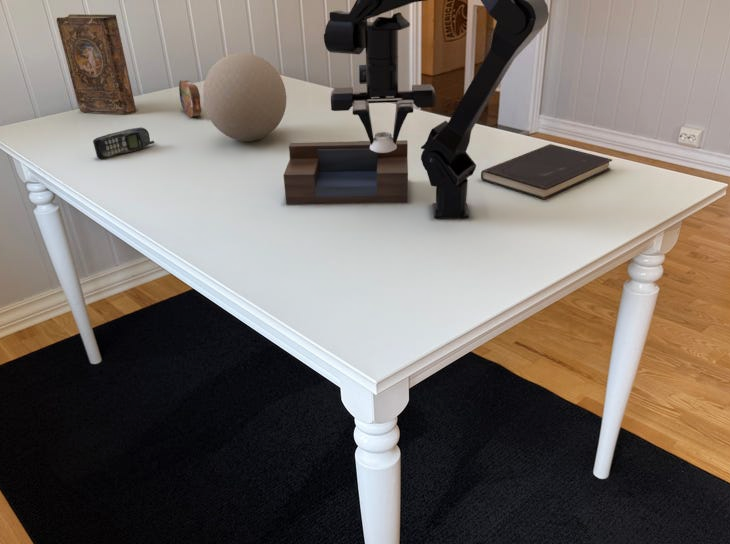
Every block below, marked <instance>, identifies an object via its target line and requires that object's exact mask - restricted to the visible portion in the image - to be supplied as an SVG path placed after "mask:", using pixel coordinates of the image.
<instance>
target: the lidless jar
mask: <svg viewBox="0 0 730 544" xmlns="http://www.w3.org/2000/svg"><path fill="white" fill-rule="evenodd" d="M396 148H397V145H396V144H395V143H394V142H393V134H392V133H390V132H388V131H381V132H377V133H375V134H374V137H373V143H372V145H370V149H371V150H372V151H374V152H377V153H388V152H391V151H393V150H395V149H396Z"/></svg>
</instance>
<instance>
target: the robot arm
mask: <svg viewBox="0 0 730 544" xmlns="http://www.w3.org/2000/svg"><path fill="white" fill-rule="evenodd" d="M426 1H427V0H355V2H354V4H353V6H352V8H351V10H350V11H349V12H348V11H347V12H346V11H342V10H333V11H330V12H329V20H327V23H326V25H325V30H324V33H323V42H324V46H325V48H326V50H327V51H328V52H329V53H332V54H334V53H335V54H346V55H347V54H348V55H361V54H362V53H363V52H364V50H365V64H359V65H358V82H359V84H360V85H366V91H364V92H363V91H362V92H354V87H353V86H352V87H351V86H350V87H349V86H348V87H334V88H333V89H332V90H331V93H330V110H331V111H333V112H345V111H350V109H351V108H352V115H353V116H358V117H359V120H360V121H361V124H362V125H363V127H364V130H365V132H366V135H367V137H368V141H370V143H371V145H372V143H373V138H374V131H373V126H372V125H373V124H372V118H371V113H370V112H371V111H370V104H381V103H383V104H386V103H387V104H388V103H389V104H390V103H395V115H394V124H393V132H392V137H393V142H394V143H395V144H396V141H398V138H399V135H400V132H401V130H402V126H403V124H404V122H405V120H406V119H407V116H408V114H412V113H414V106H415V107H417V108H418V109H421V108H422V109H425V108H434V107H436V91H435V87H434V86H432V85H433V84H430V83H429V84H412V85H411V90H399V31H403V30H404V29H407V28H410V26H411V23H410V22H409V21H408V20H407V19H406V18H405V17H404V15H402V12H396V13H394V14H393V15H392V16H380V15H382V14H384V13H389V12H391V11H395V10H397V9H400V8H404V7H405V6H408V5H411V4H413V3H419V2H426ZM480 2H481V3H482V5H483V6H484V8H485V10H486V12H487V13H488V15H490V16H491V18H493V19H494V21H496V23H495V25H494V28H493V31H492V36H491V40H490V47H489V49H488V51H487V53H486V56H485V57H484V59H483V61H482V62H481V64H480V66H479V68H478V69H477V71H476V73H475V74H474V76H473V78H472V80H471V82H470V84H469V85H468V86H467V88H466V90H465V92H464V94H463V96H462V97H461V100H460V101H459V103H458V104H457V106H456V108H455V109H454V112H453V113H452V115H451V117H450V119H449V121H448V120H444V121H443V122H441V123H439V124H437V125H436V126H435V127H432V129H431V130H430V132H429V133H428V137H427V140H426V142H425V143H424V144H423V145H421V146H420V149H421V150H422V152H421V155H420V161H421V164H422V166H423V169H424V171H426V173H427V178H428V181H429V183H430V186H431V187H435V202H433V203H432V214H433V218H434V219H469V218H470V212H469V211H470V210H469V207H468V206H469V205H468V203H467V200H468V182H469V179H468V178H469V177H471V176H473V175H474V172H475V170H476V169H477V164H476V163H475V161H474V160H473V159H472V157H470V155H469V153H467V150H468V147H469V145H470V141H471V135H472V130H473V129H474V128H475V125H476V124H477V122H478V120H479V118H480V117H481V116H482V114H483V112H484V110H485V109H486V107H487V105H488V104H489V102H490V100H491V99H492V97H493V95H494V94H495V92H496V90H497V89H498V87H499V86H500V84H501V82H502V81H503V79H504V77H505V75H506V74H507V72H508V70H509V69H510V67H511V65H512V64H513V62H514V60H515V59H516V58H517V57H518V56H519V55H520V54H521V53H522V52H523V51H524V49H526V48H527V47H528V46H529V45H530V44H531V43H532V41H533V40H534V39H535V38H536V37H537V36H538V35H539V33H540V32H541V31H542V29H544V28H545V26H546V24H547V23H548V20H549V16H550V12H549V7H548V4H547V2H546V0H480ZM374 17H375V19H374V21H368V19H372V18H374Z"/></svg>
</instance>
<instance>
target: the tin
mask: <svg viewBox="0 0 730 544" xmlns="http://www.w3.org/2000/svg"><path fill="white" fill-rule="evenodd" d="M178 84H179V85H178V91H179V92H178V93H179V99H180V103H181V104H180V105H181V108H182V110H183V112H184V113H185V114H187V116H188V117H190V118H195V117H200V116H201V115H202V107H201V95H200V94H201V93H200V91H199V87H197V85H196V84H194V83H193V82H192V81H191V80H180V81H179V83H178Z"/></svg>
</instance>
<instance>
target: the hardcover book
mask: <svg viewBox="0 0 730 544" xmlns="http://www.w3.org/2000/svg"><path fill="white" fill-rule="evenodd" d="M612 161H613V159H612V158H608V157H604V156H600V155H596V154H592V153H588V152H584V151H580V150H575V149H572V148H569V147H568V148H567V147H565V146H564V147H563V146H560V145H555V144H552V143H549V144H546V145H544V146H541V147H539V148H536V149H534V150H531V151H528V152H526V153H523V154H521V155H518V156H516V157H513V158H510V159H507V160H505V161H503V162H500V163H498V164H495V165H492V166H490V167H487V168H485V169H483V170H481V172H480V179H481V180H482V182H485V183H488V184H492V185H494V186H499V187H502V188H504V189H508V190H511V191H515V192H518V193H521V194H524V195H527V196H531V197H533V198H537V199H540V200H543V201H545V200H548V199H550V198H551V197H554V196H557V195H559V194H561V193H563V192H565V191H567V190H569V189H572V188H573V187H576V186H578V185H580V184H583V183H585V182H587V181H590V180H591V179H593V178H596V177H598V176H600V175H602V174H604V173H606V172H609V171H611V168H610V162H612Z"/></svg>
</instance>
